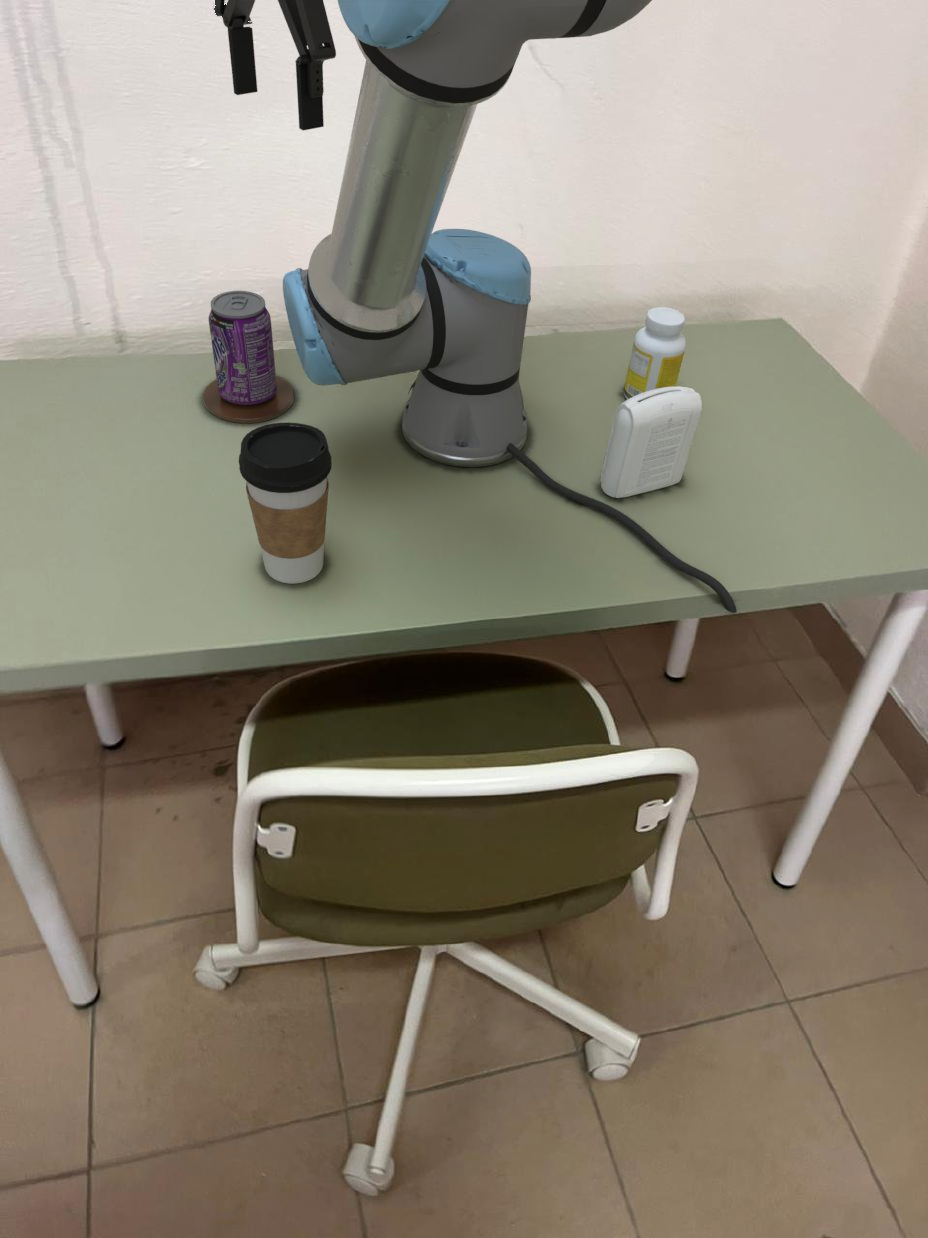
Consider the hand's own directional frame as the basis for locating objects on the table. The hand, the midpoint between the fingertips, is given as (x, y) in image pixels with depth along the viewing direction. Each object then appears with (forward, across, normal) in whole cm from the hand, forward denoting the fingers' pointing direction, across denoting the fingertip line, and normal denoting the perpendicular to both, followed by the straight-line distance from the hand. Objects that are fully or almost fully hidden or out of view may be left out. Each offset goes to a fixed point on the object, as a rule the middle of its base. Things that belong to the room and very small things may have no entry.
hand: (277, 109), depth 104 cm
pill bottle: (+29, +38, +30) cm, 56 cm away
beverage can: (+28, +9, -12) cm, 32 cm away
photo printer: (+29, +50, +15) cm, 60 cm away
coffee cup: (+29, +38, -25) cm, 54 cm away
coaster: (+29, +9, -12) cm, 33 cm away
